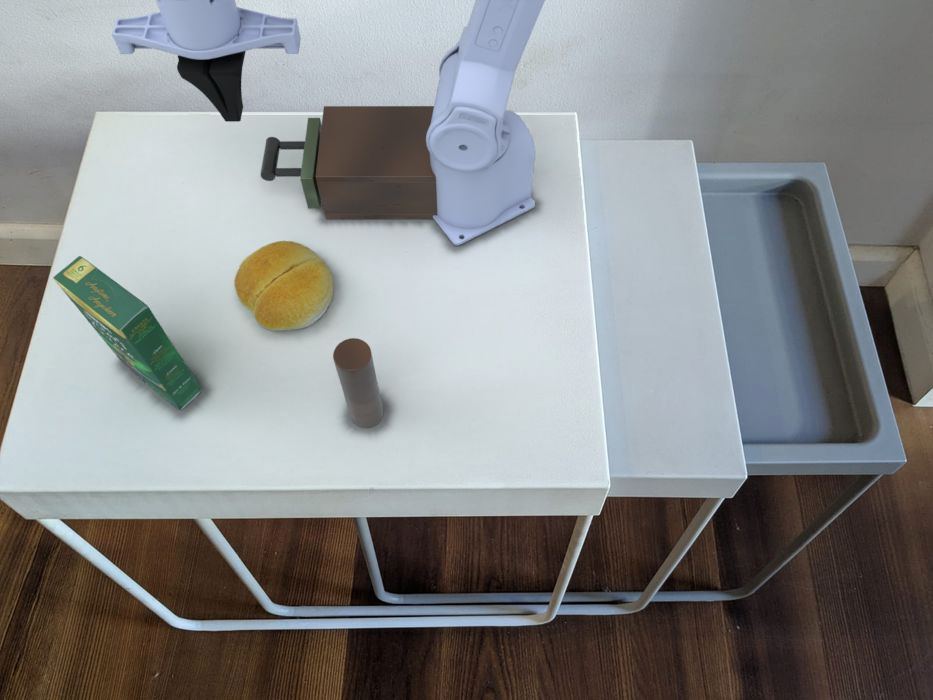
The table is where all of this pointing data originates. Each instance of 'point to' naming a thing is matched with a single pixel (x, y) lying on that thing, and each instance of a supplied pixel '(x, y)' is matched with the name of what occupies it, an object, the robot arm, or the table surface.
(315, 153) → the drawer
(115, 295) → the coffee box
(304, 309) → the bread roll
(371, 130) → the cabinet
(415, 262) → the table surface
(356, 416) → the post stand
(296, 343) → the table surface
